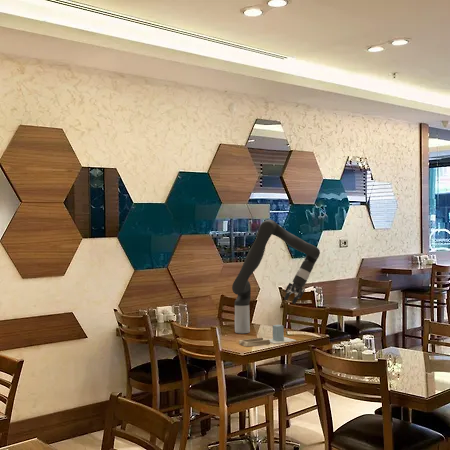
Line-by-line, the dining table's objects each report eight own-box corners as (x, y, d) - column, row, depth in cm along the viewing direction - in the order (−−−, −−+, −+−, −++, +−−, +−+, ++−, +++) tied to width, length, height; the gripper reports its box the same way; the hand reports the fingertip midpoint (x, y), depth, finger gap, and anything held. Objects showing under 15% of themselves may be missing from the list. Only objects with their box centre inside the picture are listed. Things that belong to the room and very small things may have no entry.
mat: (263, 340, 339) (263, 339, 339) (284, 337, 346) (284, 336, 346) (274, 343, 328) (274, 343, 328) (296, 340, 335) (296, 340, 335)
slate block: (272, 340, 338) (272, 325, 338) (279, 339, 340) (279, 324, 340) (277, 341, 334) (276, 326, 334) (283, 340, 336) (283, 325, 336)
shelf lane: (239, 344, 329) (239, 340, 329) (262, 341, 337) (261, 337, 337) (246, 346, 322) (246, 342, 322) (269, 343, 329) (269, 339, 329)
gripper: (290, 272, 352) (278, 296, 351) (303, 277, 340) (291, 302, 338) (299, 277, 356) (287, 301, 354) (312, 282, 343) (300, 307, 341)
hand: (289, 301), depth 346 cm, fingers open, 8 cm apart
